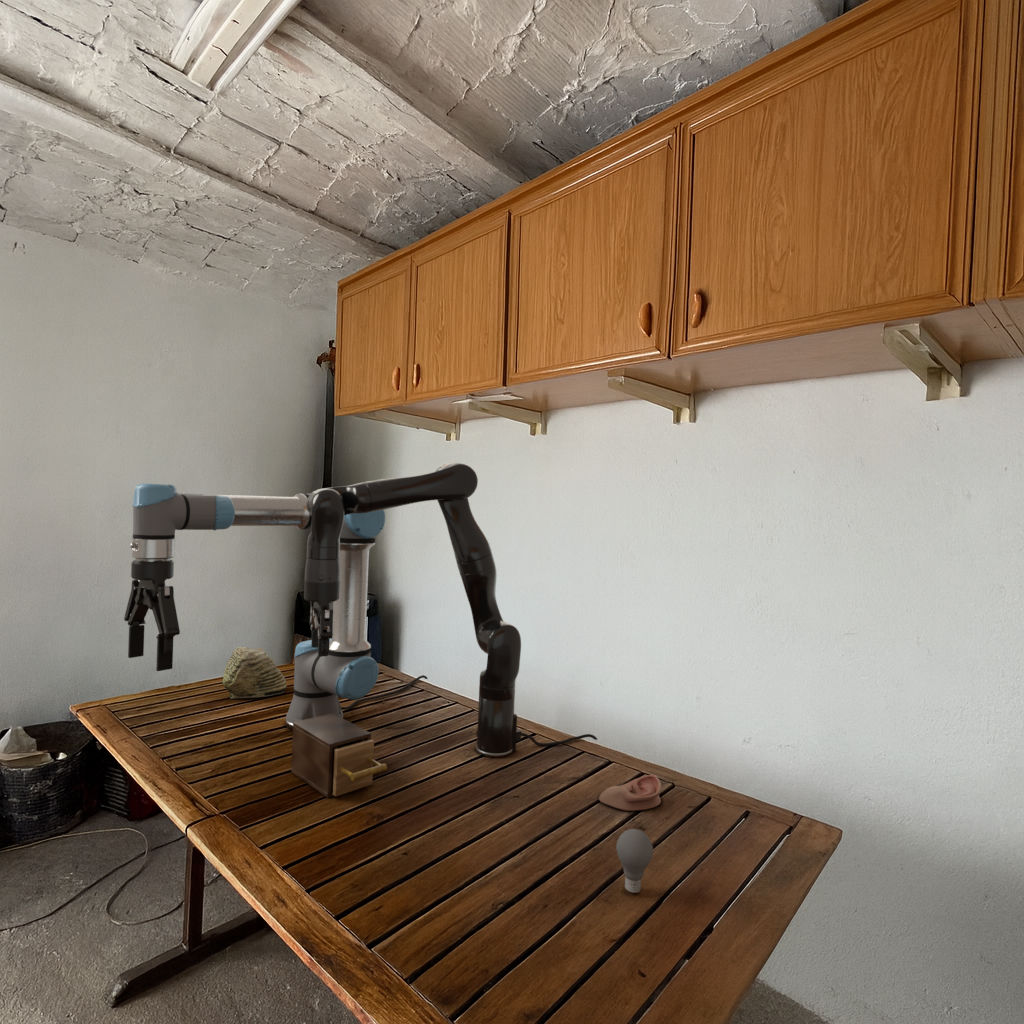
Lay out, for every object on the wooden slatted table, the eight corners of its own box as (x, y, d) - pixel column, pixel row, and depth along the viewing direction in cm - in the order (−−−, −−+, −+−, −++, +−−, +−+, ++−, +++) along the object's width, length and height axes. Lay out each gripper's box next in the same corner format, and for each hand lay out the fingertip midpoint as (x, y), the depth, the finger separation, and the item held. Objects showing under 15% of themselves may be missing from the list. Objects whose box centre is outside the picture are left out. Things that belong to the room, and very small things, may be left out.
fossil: (218, 695, 195) (220, 647, 195) (278, 685, 208) (279, 640, 207) (228, 703, 189) (230, 653, 188) (289, 692, 201) (290, 645, 201)
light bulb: (610, 879, 108) (613, 822, 108) (644, 879, 109) (647, 822, 109) (619, 902, 102) (622, 840, 102) (655, 901, 103) (658, 840, 103)
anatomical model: (598, 788, 134) (602, 766, 145) (597, 806, 134) (601, 783, 146) (662, 796, 132) (661, 774, 143) (662, 815, 132) (660, 791, 143)
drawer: (387, 793, 134) (389, 749, 134) (350, 807, 128) (352, 760, 128) (335, 761, 150) (337, 721, 149) (300, 771, 143) (302, 729, 143)
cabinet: (369, 784, 141) (371, 733, 140) (327, 798, 133) (329, 744, 133) (330, 760, 152) (332, 713, 152) (291, 771, 145) (292, 722, 145)
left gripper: (108, 554, 134) (105, 654, 134) (160, 566, 118) (156, 679, 119) (146, 553, 140) (143, 649, 140) (200, 564, 124) (197, 671, 125)
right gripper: (346, 582, 136) (343, 658, 136) (333, 574, 148) (330, 643, 149) (310, 583, 132) (307, 660, 133) (300, 574, 145) (297, 645, 145)
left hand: (149, 663), depth 129 cm, fingers open, 13 cm apart
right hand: (319, 651), depth 141 cm, fingers open, 8 cm apart
